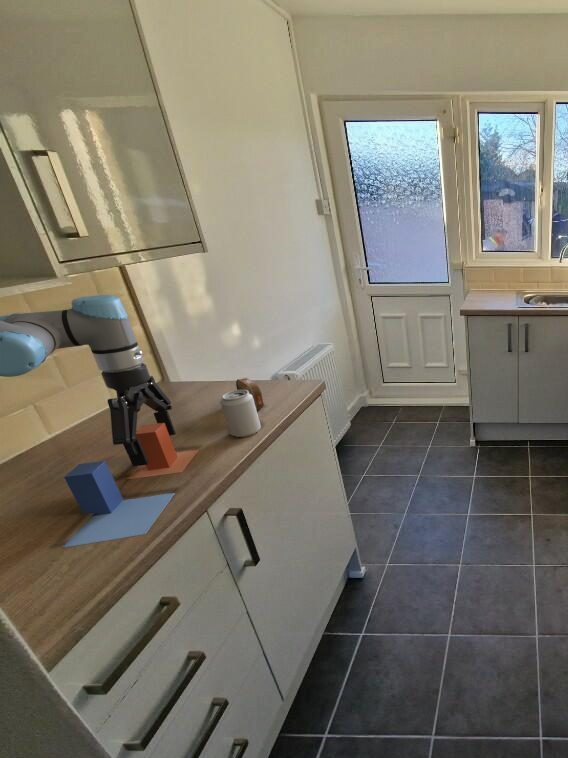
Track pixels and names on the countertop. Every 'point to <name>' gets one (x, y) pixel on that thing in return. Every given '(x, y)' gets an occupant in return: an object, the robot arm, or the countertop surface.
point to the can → (240, 413)
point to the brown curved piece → (251, 391)
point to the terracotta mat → (174, 468)
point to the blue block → (94, 488)
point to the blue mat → (122, 521)
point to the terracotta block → (156, 445)
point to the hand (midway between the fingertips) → (156, 449)
